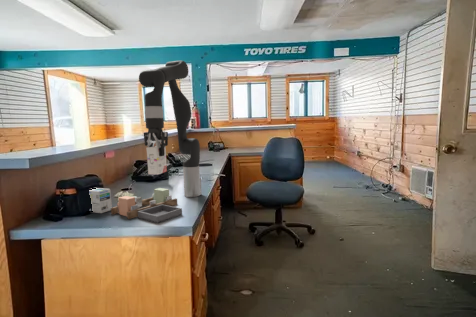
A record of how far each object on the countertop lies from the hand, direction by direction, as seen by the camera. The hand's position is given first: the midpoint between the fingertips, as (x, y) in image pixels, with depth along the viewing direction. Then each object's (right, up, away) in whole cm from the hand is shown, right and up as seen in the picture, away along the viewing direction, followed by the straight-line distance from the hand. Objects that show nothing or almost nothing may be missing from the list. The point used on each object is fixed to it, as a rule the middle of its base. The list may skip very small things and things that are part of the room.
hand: (156, 155), depth 124 cm
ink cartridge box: (0, -8, +1) cm, 8 cm away
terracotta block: (-16, -27, +7) cm, 32 cm away
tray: (+1, -27, +3) cm, 27 cm away
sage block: (-4, -25, +24) cm, 35 cm away
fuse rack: (-10, -26, +15) cm, 32 cm away
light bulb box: (-33, -27, +15) cm, 45 cm away
